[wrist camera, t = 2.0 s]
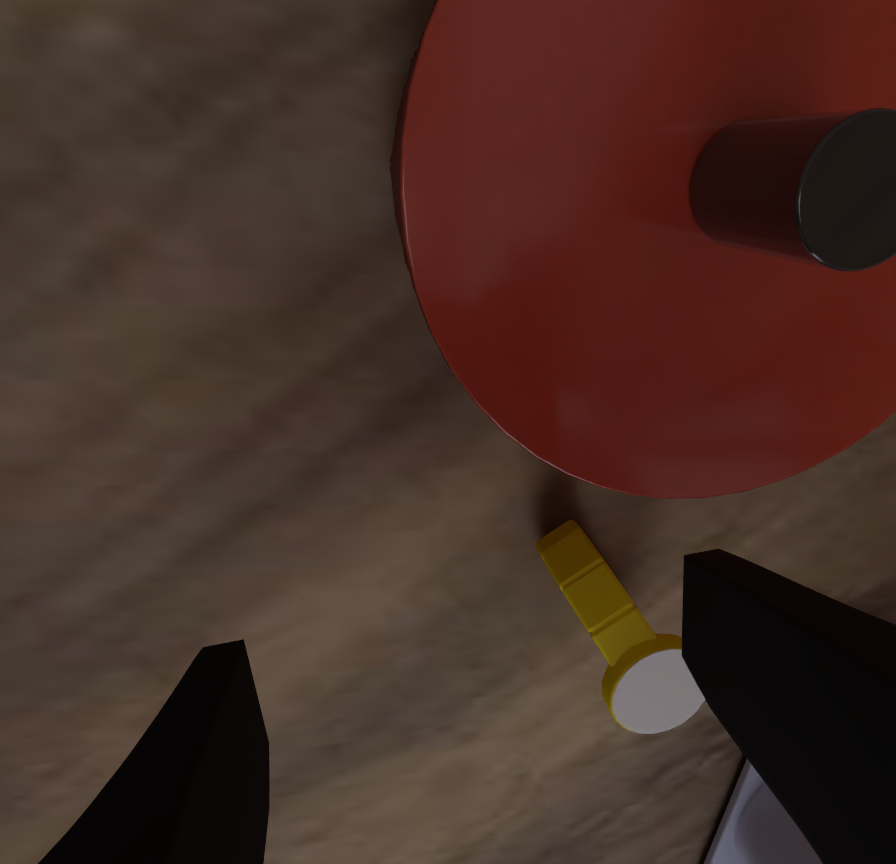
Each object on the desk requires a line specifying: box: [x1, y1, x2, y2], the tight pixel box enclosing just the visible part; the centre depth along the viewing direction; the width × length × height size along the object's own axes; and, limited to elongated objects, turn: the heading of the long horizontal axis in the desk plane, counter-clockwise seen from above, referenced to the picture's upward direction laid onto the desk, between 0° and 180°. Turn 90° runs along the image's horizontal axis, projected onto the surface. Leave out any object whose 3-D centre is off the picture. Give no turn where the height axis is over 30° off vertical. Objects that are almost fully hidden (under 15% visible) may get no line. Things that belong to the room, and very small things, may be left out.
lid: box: [397, 0, 896, 499], centre depth 13 cm, size 14×14×4 cm
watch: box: [536, 520, 705, 734], centre depth 21 cm, size 6×3×6 cm, turn 32°
